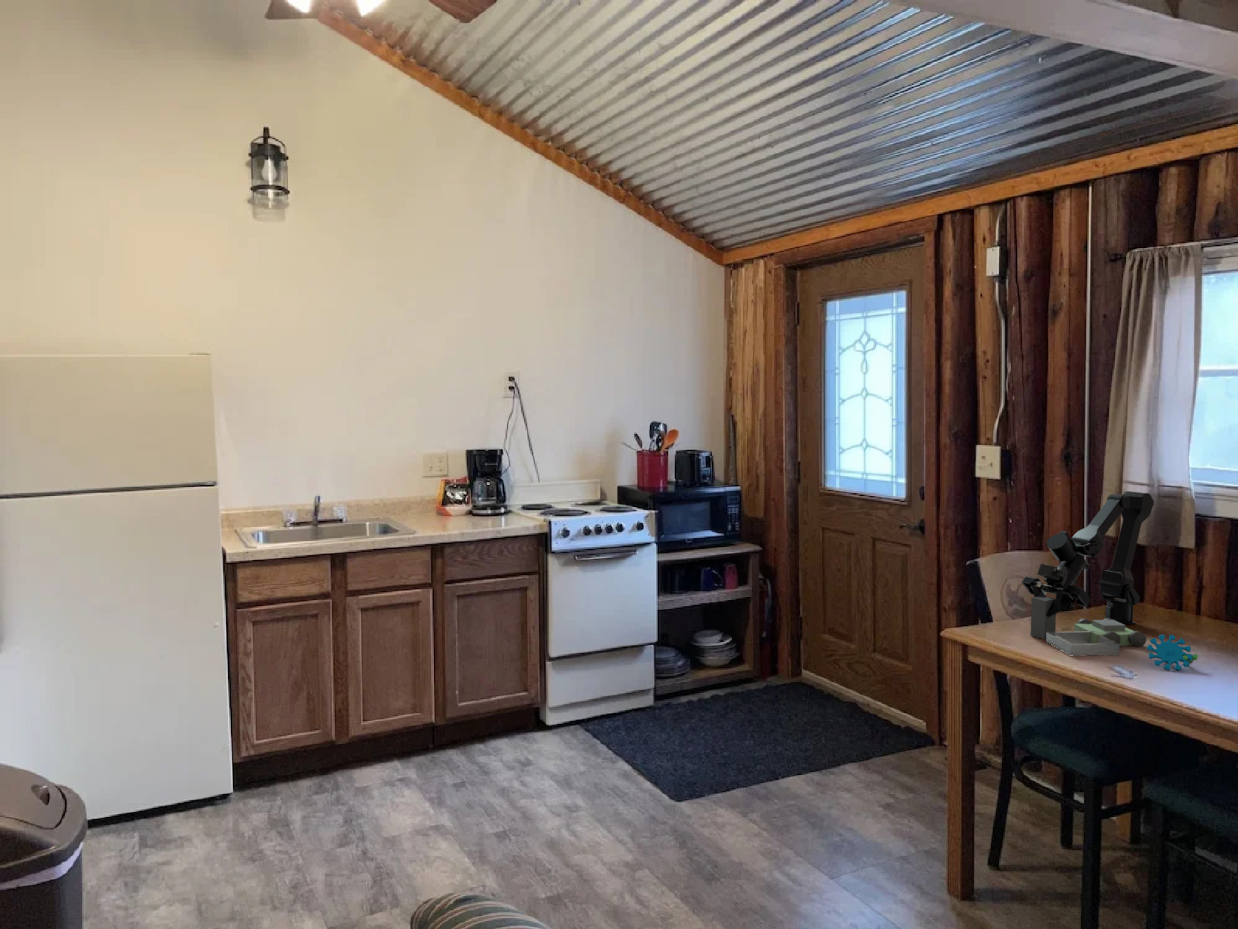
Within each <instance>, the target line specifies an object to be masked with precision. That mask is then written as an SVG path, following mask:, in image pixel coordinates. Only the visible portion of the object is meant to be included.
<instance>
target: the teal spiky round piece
mask: <svg viewBox="0 0 1238 929" xmlns="http://www.w3.org/2000/svg"><path fill="white" fill-rule="evenodd" d="M1165 638H1166V635H1165V634H1158V639H1159V641H1160V643H1157V642H1158V641H1157V638H1156V637H1153V638H1151V639H1150V640H1149V641H1150V643H1151V644H1152V645H1151V644H1148V645H1147V647H1146V650H1147V651H1148V659H1151V660H1152V659H1155V660H1154V661H1153V663H1154V665H1155V666H1156V667H1160V666H1161V664H1164V663H1165V665H1164V666H1163V669H1164V670H1166V671H1170V670H1171V666H1172V664H1176V665H1174V668H1173V669H1174V670H1175V671H1177V672H1179V671H1181V670H1182V666H1183V667H1184V668H1187V667H1190V665H1191V664H1193V662H1194V661H1197V660H1198V658H1199V655H1198V654H1197V653H1193V654H1191V650H1192V648H1191V646H1190V645H1187V646H1183V645H1185V643H1186V641H1185V640H1184V639H1183V638H1180V639H1179V640H1177V641H1175V639H1176V635H1174V634H1169V637H1168V640H1166V641H1165ZM1173 641H1175V642H1173ZM1153 645H1154V646H1155V647H1156V648H1154V647H1153ZM1149 651H1150V652H1149ZM1185 651H1186V652H1187V653H1186V652H1185ZM1152 652H1154V653H1152ZM1155 653H1156V654H1155ZM1158 659H1159V660H1158ZM1180 662H1181V663H1182V666H1181V665H1180ZM1166 663H1168V664H1166Z"/></svg>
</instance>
